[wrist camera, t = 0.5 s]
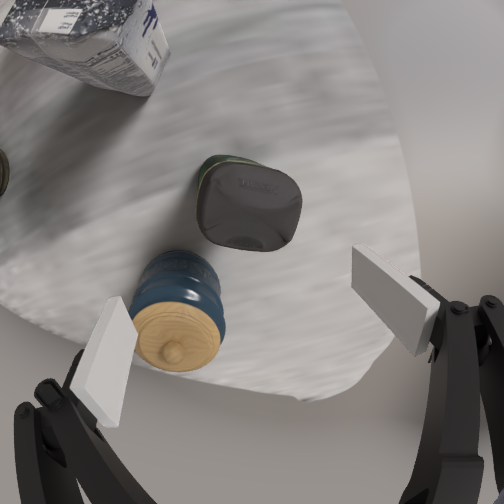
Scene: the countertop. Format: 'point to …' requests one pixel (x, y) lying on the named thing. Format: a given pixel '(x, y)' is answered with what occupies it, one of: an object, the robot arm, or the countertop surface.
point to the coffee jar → (246, 204)
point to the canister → (178, 312)
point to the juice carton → (91, 40)
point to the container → (3, 172)
